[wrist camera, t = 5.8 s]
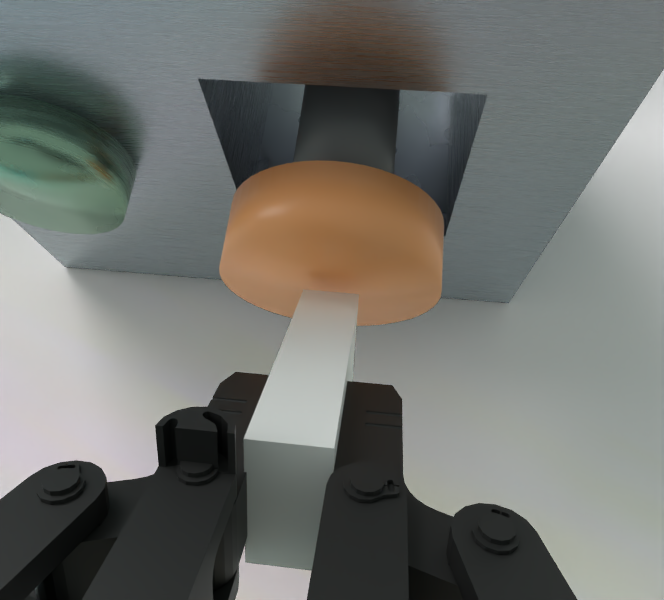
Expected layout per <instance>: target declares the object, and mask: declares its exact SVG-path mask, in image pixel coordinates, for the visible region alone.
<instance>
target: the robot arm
mask: <svg viewBox="0 0 664 600" xmlns="http://www.w3.org/2000/svg"><path fill="white" fill-rule="evenodd" d="M358 300H359V294H352V293H340V292H328V291H316V290H304V289H303V292H302V294H301V297H300V299H299V302H298V304H297V307H296V309H295V312H294V314H293V317H292V319H291V322H290V324H289V327H288V329H287V332H286V334H285V337H284V339H283V342H282V344H281V347H280V349H279V352H278V354H277V357H276V359H275V362H274V364H273V367H272V369H271V372H270V374H269V375H262V374H251V373H241V372H235V373H234V374H232V375H231V376H230V377H228V378H227V379H225V380H224V381H223V382H221V383H220V385H219V387H218V388H217V390H216V392H215V394H214V396H213V400H211V401H210V403H209V405H208V407H190V408H186V409H181V410H177V411H175V412H173V413H171V414H169V415H167V416H165V417H163V418H162V419H161V420H160V421H159V422H158V423H157V424H156V425H155V428H156V439H157V451H158V462H159V467H158V469H157V470H156V472H155V474H153V475H150V476H148V477H143V478H138V479H132V480H123V481H115V482H107V479H106V476H105V474H104V472H103V470H102V469H101V468H100V467H98V466H96V465H95V464H93V463H91V462H84V461H68V462H60V463H57V464H54V465H51V466H48V467H45V468H43V469H41V470H40V471H38V472H36V473H35V474H33V475H31V476H30V477H28V478H27V479H26V480H24V481H23V482H22V483H21V484H19V485H18V486H17V487H16V488H14V489H13V490H12V491H11V492H9V493H8V494H7V495H5V496H4V497H3V498H2V499H0V600H235V598H236V594H237V591H238V584H239V562H240V558H241V555H242V552H243V549H244V546H245V562H247V563H255V564H263V565H272V566H280V567H288V568H296V569H305V570H312V573H311V578H310V584H309V590H308V596H307V600H577V599H576V597H575V595H574V594H573V592H572V590H571V589H570V587H569V585H568V584H567V582H566V580H565V578H564V577H563V575H562V573H561V572H560V570H559V568H558V567H557V565H556V563H555V562H554V560H553V558H552V557H551V555H550V553H549V552H548V550H547V548H546V547H545V545H544V543H543V542H542V540H541V538H540V537H539V535H538V533H537V532H536V531H535V529H534V528H533V527H532V526H531V525H530V524H529V522H528V521H527V520H526V519H524V518H523V517H521V516H520V515H518V514H517V513H515V512H514V511H512V510H509V509H507V508H504V507H501V506H498V505H494V504H482V503H478V504H474V505H469V506H465V507H464V508H462V509H461V510H460V511H458V512H457V513H456V514H455V516H454V517H453V516H450V515H447V514H444V513H442V512H439V511H436V510H434V509H432V508H430V507H428V506H426V505H424V504H423V503H422V502H420V501H419V500H417V499H416V498H415V497H414V496H413V495H412V494H411V493H410V492H409V490H408V488H407V487H406V485H405V483H404V478H403V442H402V399H401V397H400V396H399V394H398V393H397V391H396V390H395V389H394V387H393V386H392V385H383V384H372V383H362V382H353V369H354V355H355V341H356V327H357V314H358Z"/></svg>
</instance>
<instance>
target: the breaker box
mask: <svg viewBox="0 0 664 600" xmlns="http://www.w3.org/2000/svg"><path fill="white" fill-rule="evenodd" d="M663 69H664V0H0V213H1V214H3V215H5V216H8V217H10V218H12V219H13V220H14V221H15V222H16V223H18V224H19V225H20V226H21V227H22V228H23V229H24V230H25V231H26V232H27V233H28V234H30V235H31V236H32V237H33V238H34V239H35V240H36V241H37V242H38V243H39V244H41V245H42V246H43V247H44V248H45V249H46V250H47V251H48V252H49V253H50V254H51V255H53V256H54V257H55V258H56V259H57V260H58V261H59V262H60V263H61V264H62V265H64V266H65V267H73V268H86V269H98V270H110V271H123V272H135V273H147V274H160V275H172V276H184V277H196V278H209V279H221V276H220V273H219V266H220V261H221V256H222V251H223V245H224V240H225V235H226V230H227V225H228V220H229V215H230V210H231V204H232V200H233V196H234V194H235V192H236V190H237V189H238V187H239V186H240V185H241V184H242V183H243V182H244V181H246V180H247V179H248V178H250V177H251V176H253V175H255V174H257V173H258V172H260V171H263V170H265V169H268V168H271V167H274V166H278V165H282V164H286V163H293V160H294V153H295V147H296V141H297V134H298V128H299V121H300V115H301V108H302V102H303V95H304V89H305V85H323V86H341V87H360V88H378V89H396V90H400V100H399V113H398V126H397V139H396V152H395V165H394V174H395V175H397V176H399V177H401V178H403V179H406V180H408V181H409V182H411V183H413V184H414V185H416V186H418V187H419V188H421V189H422V190H423V191H424V192H426V193H427V194H428V195H429V196H430V197H431V198H432V199H433V200H434V201H435V202H436V204H437V205H438V207H439V208H440V210H441V212H442V215H443V219H444V242H443V269H442V292H441V297H443V298H455V299H467V300H480V301H492V302H504V303H509V302H510V300H511V299H512V297H513V296H514V294H515V292H516V291H517V289H518V288H519V286H520V285H521V283H522V282H523V280H524V279H525V277H526V276H527V274H528V273H529V271H530V270H531V268H532V267H533V265H534V264H535V262H536V261H537V259H538V258H539V256H540V255H541V253H542V252H543V250H544V249H545V247H546V246H547V244H548V243H549V241H550V240H551V238H552V237H553V235H554V234H555V232H556V231H557V229H558V228H559V226H560V225H561V223H562V222H563V220H564V219H565V217H566V216H567V214H568V213H569V211H570V210H571V208H572V207H573V205H574V204H575V202H576V201H577V199H578V198H579V196H580V195H581V193H582V192H583V190H584V188H585V187H586V185H587V184H588V182H589V181H590V179H591V178H592V176H593V175H594V173H595V172H596V170H597V169H598V167H599V166H600V164H601V163H602V161H603V160H604V158H605V157H606V155H607V154H608V152H609V151H610V149H611V148H612V146H613V145H614V143H615V142H616V140H617V139H618V137H619V136H620V134H621V133H622V131H623V130H624V128H625V127H626V125H627V124H628V122H629V121H630V119H631V118H632V116H633V115H634V113H635V112H636V110H637V109H638V107H639V106H640V104H641V103H642V101H643V100H644V98H645V97H646V95H647V94H648V92H649V91H650V89H651V88H652V86H653V84H654V83H655V81H656V80H657V78H658V77H659V75H660V74H661V72H662V71H663ZM221 280H222V279H221Z"/></svg>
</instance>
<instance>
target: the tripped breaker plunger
mask: <svg viewBox="0 0 664 600" xmlns="http://www.w3.org/2000/svg"><path fill="white" fill-rule="evenodd" d="M399 100H400V90H396V89H378V88H360V87H341V86H323V85H305V89H304V95H303V102H302V108H301V115H300V121H299V128H298V134H297V141H296V147H295V153H294V160H293V163H286V164H282V165H278V166H274V167H271V168H268V169H265V170H263V171H260V172H258V173H257V174H255V175H253V176H251V177H250V178H248V179H247V180H246V181H244V182H243V183H242V184H241V185H240V186H239V187H238V189H237V190H236V192H235V194H234V196H233V200H232V204H231V210H230V215H229V220H228V225H227V230H226V235H225V240H224V245H223V251H222V256H221V261H220V266H219V273H220V276H221V279H222V280H223V282H224V283H225V285H226V286H227V287H228V288H229V289H230V290H231V291H232V292H234V293H235V294H236V295H237V296H239V297H241V298H242V299H244V300H245V301H247V302H249V303H251V304H253V305H255V306H257V307H260V308H262V309H264V310H267V311H270V312H273V313H276V314H279V315H282V316H286V317H290V318H292V317H293V314H294V312H295V309H296V307H297V304H298V302H299V299H300V297H301V294H302V292H303V289H304V290H316V291H328V292H340V293H352V294H359V300H358V314H357V326H370V325H382V324H389V323H395V322H400V321H404V320H408V319H411V318H414V317H417V316H419V315H421V314H423V313H425V312H427V311H429V310H430V309H431V308H433V307H434V306H435V305H436V304H437V303H438V301H439V299H440V297H441V292H442V269H443V242H444V219H443V215H442V212H441V210H440V208H439V207H438V205H437V204H436V202H435V201H434V200H433V199H432V198H431V197H430V196H429V195H428V194H427V193H426V192H424V191H423V190H422V189H421V188H419V187H418V186H416V185H414V184H413V183H411V182H409V181H408V180H406V179H403V178H401V177H399V176H397V175H395V174H394V165H395V152H396V139H397V126H398V113H399Z"/></svg>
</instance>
